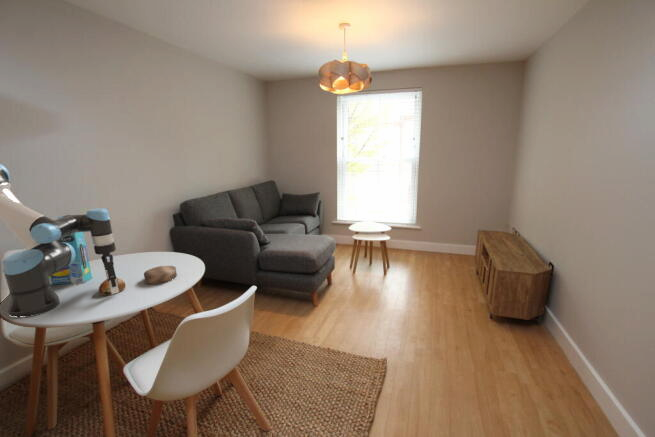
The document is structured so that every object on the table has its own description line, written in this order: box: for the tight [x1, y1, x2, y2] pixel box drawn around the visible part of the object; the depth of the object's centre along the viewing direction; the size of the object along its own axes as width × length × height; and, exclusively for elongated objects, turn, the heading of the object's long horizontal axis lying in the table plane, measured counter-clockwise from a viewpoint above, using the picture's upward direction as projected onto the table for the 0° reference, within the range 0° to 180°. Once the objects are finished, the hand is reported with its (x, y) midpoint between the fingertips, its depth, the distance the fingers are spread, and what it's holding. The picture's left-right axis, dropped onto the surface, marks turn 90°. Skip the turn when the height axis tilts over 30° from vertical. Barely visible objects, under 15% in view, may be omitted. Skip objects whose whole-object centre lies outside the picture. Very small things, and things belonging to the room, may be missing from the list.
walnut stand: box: [143, 265, 178, 286], centre depth 151 cm, size 14×14×4 cm
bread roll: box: [98, 277, 126, 296], centre depth 139 cm, size 10×10×8 cm
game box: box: [48, 232, 93, 286], centre depth 147 cm, size 20×6×27 cm, turn 95°
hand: (113, 288), depth 139 cm, fingers open, 13 cm apart
